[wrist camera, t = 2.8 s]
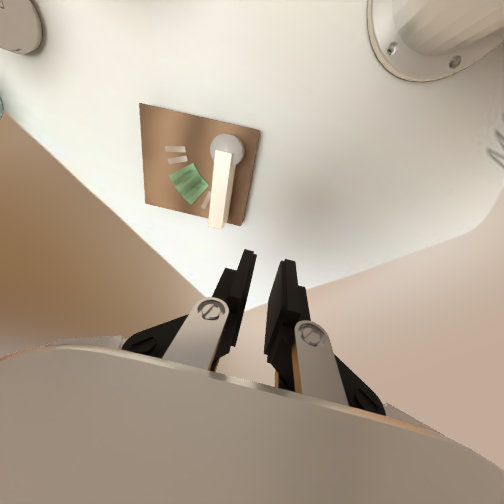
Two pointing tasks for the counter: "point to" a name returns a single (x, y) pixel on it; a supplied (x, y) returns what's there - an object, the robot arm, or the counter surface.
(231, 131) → the dial board
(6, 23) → the energy drink can
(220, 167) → the dial needle
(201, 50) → the counter surface
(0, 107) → the cup
